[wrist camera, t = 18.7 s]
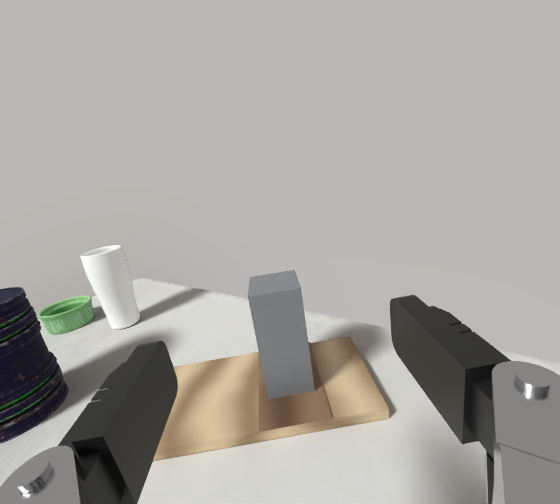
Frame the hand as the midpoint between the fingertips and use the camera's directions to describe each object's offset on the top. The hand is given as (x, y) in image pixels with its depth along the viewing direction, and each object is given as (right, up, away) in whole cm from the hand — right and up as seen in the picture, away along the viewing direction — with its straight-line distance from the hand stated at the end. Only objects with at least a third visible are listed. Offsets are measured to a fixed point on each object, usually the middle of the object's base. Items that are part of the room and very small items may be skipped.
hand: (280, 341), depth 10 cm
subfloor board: (-2, -13, +22) cm, 26 cm away
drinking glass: (-30, -11, +45) cm, 55 cm away
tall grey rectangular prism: (+1, -11, +22) cm, 25 cm away
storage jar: (-33, -17, +25) cm, 45 cm away
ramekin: (-43, -12, +48) cm, 66 cm away
